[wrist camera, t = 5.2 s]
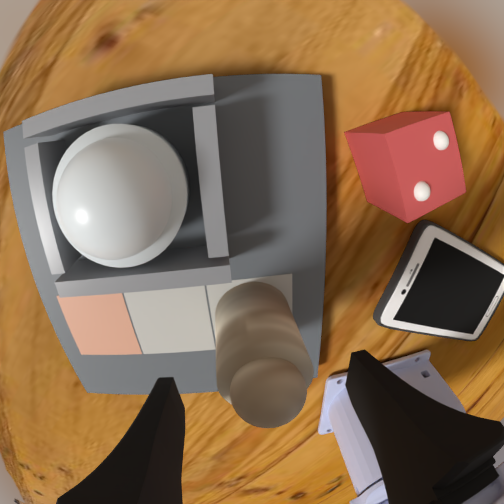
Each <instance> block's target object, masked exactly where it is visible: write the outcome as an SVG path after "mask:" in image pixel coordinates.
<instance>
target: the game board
mask: <svg viewBox="0 0 504 504" xmlns="http://www.w3.org/2000/svg"><path fill="white" fill-rule="evenodd" d="M109 124H129V125H137V126H143V127H146V128H149V129H151V130H154V131H156V132H158V133H159V134H161V135H162V136H164V137H165V138H166V139H167V140H168V141H169V142H171V143H172V145H173V146H174V147H175V148H176V149H177V151H178V152H179V154H180V156H181V157H182V159H183V162H184V164H185V166H186V169H187V173H188V178H189V187H190V193H189V202H188V207H187V210H186V213H185V216H184V218H183V221H182V223H181V226H180V228H179V230H178V232H177V234H176V236H175V237H174V239H173V240H172V242H171V243H170V244H169V246H168V247H167V248H166V249H165V250H164V251H163V252H161V253H160V254H159V255H158V256H156V257H155V258H153V259H152V260H150V261H148V262H146V263H143V264H140V265H137V266H132V267H123V268H118V267H109V266H105V265H102V264H99V263H96V262H94V261H92V260H90V259H88V258H87V257H85V256H84V255H82V254H81V253H80V252H78V251H77V250H76V249H75V248H74V247H73V246H72V245H71V244H70V242H69V241H68V240H67V238H66V237H65V236H64V234H63V232H62V230H61V228H60V226H59V224H58V222H57V219H56V216H55V212H54V207H53V195H52V191H53V182H54V177H55V173H56V170H57V167H58V165H59V162H60V160H61V158H62V157H63V155H64V153H65V152H66V150H67V149H68V148H69V147H70V146H71V144H72V143H73V142H74V141H76V140H77V139H78V138H79V137H80V136H82V135H83V134H85V133H86V132H88V131H90V130H92V129H94V128H97V127H100V126H103V125H109ZM4 144H5V154H6V162H7V170H8V176H9V183H10V188H11V194H12V199H13V204H14V209H15V213H16V218H17V222H18V226H19V230H20V234H21V238H22V241H23V245H24V249H25V252H26V255H27V259H28V262H29V265H30V268H31V271H32V274H33V277H34V280H35V283H36V285H37V288H38V291H39V294H40V296H41V299H42V301H43V304H44V306H45V309H46V311H47V314H48V316H49V318H50V321H51V323H52V325H53V328H54V330H55V332H56V334H57V336H58V338H59V341H60V343H61V345H62V347H63V349H64V351H65V353H66V355H67V357H68V359H69V361H70V363H71V364H72V366H73V368H74V370H75V372H76V374H77V376H78V377H79V379H80V381H81V383H82V384H83V386H84V388H85V389H86V391H87V392H88V393H105V394H150V392H151V390H152V388H153V386H154V384H155V382H156V380H157V379H158V378H159V377H174V380H175V383H176V386H177V388H178V391H179V394H184V393H202V392H215V391H218V388H217V380H216V337H215V311H216V306H217V304H218V302H219V300H220V299H221V297H222V296H223V295H224V294H225V293H226V292H227V291H228V290H230V289H231V288H233V287H235V286H237V285H240V284H243V283H247V282H262V283H266V284H270V285H272V286H274V287H275V288H277V289H278V290H280V291H281V292H282V293H283V295H284V296H285V298H286V300H287V302H288V304H289V307H290V309H291V312H292V314H293V317H294V319H295V322H296V324H297V327H298V329H299V332H300V334H301V337H302V339H303V342H304V344H305V347H306V349H307V352H308V354H309V357H310V359H311V362H312V364H313V368H314V375H313V378H316V377H317V374H318V365H319V355H320V343H321V331H322V318H323V302H324V284H325V260H326V149H325V126H324V108H323V94H322V81H321V75H310V74H252V75H233V76H220V77H213V74H207V75H198V76H190V77H182V78H176V79H169V80H163V81H157V82H152V83H146V84H141V85H137V86H132V87H127V88H123V89H119V90H115V91H111V92H107V93H103V94H99V95H95V96H92V97H88V98H85V99H82V100H78V101H75V102H72V103H69V104H66V105H63V106H60V107H57V108H54V109H51V110H49V111H46V112H43V113H41V114H38V115H36V116H33V117H31V118H28V119H26V120H23V121H22V124H21V125H18V126H16V127H14V128H11V129H9V130H7V131H5V132H4Z"/></svg>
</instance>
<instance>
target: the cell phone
mask: <svg viewBox="0 0 504 504" xmlns="http://www.w3.org/2000/svg"><path fill="white" fill-rule="evenodd" d="M503 296H504V264H503V263H501V262H500V261H498V260H497V259H495V258H494V257H492V256H491V255H489V254H487V253H486V252H484V251H483V250H481V249H479V248H478V247H476V246H474V245H473V244H471V243H469V242H468V241H466V240H464V239H463V238H461V237H459V236H457V235H456V234H454V233H452V232H450V231H449V230H447V229H445V228H443V227H441V226H439V225H438V224H436V223H434V222H431V221H428V220H422V221H420V222H419V223H418V224H417V226H416V227H415V229H414V231H413V233H412V235H411V237H410V239H409V242H408V244H407V246H406V248H405V250H404V252H403V255H402V257H401V259H400V261H399V263H398V265H397V267H396V269H395V271H394V273H393V275H392V277H391V279H390V281H389V283H388V285H387V287H386V289H385V291H384V293H383V295H382V297H381V298H380V300H379V302H378V304H377V306H376V308H375V311H374V313H373V319H374V320H375V321H376V323H377V324H378V325H380V326H382V327H386V328H389V329H394V330H400V331H406V332H412V333H418V334H424V335H430V336H437V337H444V338H451V339H458V340H465V341H476V340H477V339H478V338H479V337H480V336H481V334H482V333H483V331H484V330H485V328H486V327H487V325H488V323H489V321H490V320H491V318H492V316H493V314H494V313H495V311H496V309H497V307H498V305H499V304H500V302H501V300H502V298H503ZM399 328H400V329H399ZM404 329H406V330H404ZM409 330H412V331H409ZM415 331H418V332H415Z"/></svg>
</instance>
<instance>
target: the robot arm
mask: <svg viewBox="0 0 504 504" xmlns="http://www.w3.org/2000/svg"><path fill="white" fill-rule="evenodd" d="M430 355H431V353H430V351H429V350H424V351H421V352H418V353H414V354H411V355H408V356H405V357H402V358H398V359H395V360H392V361H388V362H385V363H381V362H379V361H378V360H377V359H376V358H374V357H373V356H372V355H371V354H370V353H368V352H367V351H366V350H361V351H357V352H352V353H351V358H350V364H349V369H348V372H345V373H341V374H337V375H332V376H330V377H328V378H327V380H326V384H325V391H324V398H323V404H322V410H321V416H320V422H319V427H318V432H319V434H327V433H331V432H334V434H335V437H336V439H337V442H338V445H339V447H340V450H341V453H342V456H343V458H344V461H345V464H346V466H347V469H348V472H349V475H350V477H351V480H352V483H353V486H354V488H355V491H356V494H357V498H355V499H353V500H351V501H350V504H504V462H503V463H501V464H500V465H499V466H498V467H497V468H494V466H493V464H494V463H495V459H494V458H493V456H494V455H495V454H496V452H498V451H499V449H501V447H502V446H503V445H504V426H503V425H502V424H501V422H500V421H494V420H489V419H484V418H480V417H476V416H473V415H470V414H466V412H465V409H464V407H463V405H462V404H461V402H460V401H459V399H458V398H457V397H456V395H455V394H454V393H453V391H452V390H451V389H450V387H449V386H448V385H447V383H446V382H445V381H444V379H443V378H442V377H441V375H440V374H439V373H438V372H437V370H436V369H435V368H434V366H433V365H432V364H431V363H430V361H429V358H430ZM184 438H185V407H184V405H183V402H182V399H181V397H180V394H179V391H178V388H177V386H176V383H175V380H174V377H159V378H158V379H157V380H156V382H155V384H154V386H153V388H152V390H151V392H150V394H149V396H148V398H147V400H146V401H145V403H144V405H143V407H142V408H141V410H140V412H139V414H138V415H137V417H136V419H135V420H134V422H133V423H132V425H131V426H130V428H129V429H128V431H127V432H126V434H125V435H124V437H123V438H122V439H121V441H120V442H119V443H118V445H117V446H116V447H115V448H114V450H113V451H112V452H111V453H110V454H109V455H108V456H107V458H106V459H105V460H104V461H103V462H102V463H101V464H100V465H99V466H98V467H97V468H96V469H95V470H94V471H93V472H92V473H91V474H89V475H88V476H87V477H86V478H85V479H84V480H83V481H81V482H80V483H79V484H78V485H76V486H75V487H74V488H72V489H71V490H69V491H68V492H66V493H65V494H64V495H62V496H60V497H59V498H58V499H57V502H56V504H183V502H182V486H181V473H182V461H183V449H184Z"/></svg>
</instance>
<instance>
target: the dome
mask: <svg viewBox="0 0 504 504" xmlns="http://www.w3.org/2000/svg"><path fill="white" fill-rule="evenodd" d="M189 193H190V187H189V178H188V173H187V169H186V166H185V164H184V162H183V159H182V157H181V156H180V154H179V152H178V151H177V149H176V148H175V147H174V146H173V145H172V143H171V142H169V141H168V140H167V139H166V138H165V137H164V136H162V135H161V134H159V133H158V132H156V131H154V130H151V129H149V128H146V127H143V126H137V125H129V124H109V125H103V126H100V127H97V128H94V129H92V130H90V131H88V132H86V133H85V134H83V135H82V136H80V137H79V138H78V139H77V140H76V141H74V142H73V143H72V144H71V146H70V147H69V148H68V149H67V150H66V152H65V153H64V155H63V157H62V158H61V160H60V162H59V165H58V167H57V170H56V173H55V177H54V182H53V191H52V195H53V207H54V212H55V216H56V219H57V222H58V224H59V226H60V228H61V230H62V232H63V234H64V236H65V237H66V238H67V240H68V241H69V242H70V244H71V245H72V246H73V247H74V248H75V249H76V250H77V251H78V252H80V253H81V254H82V255H84V256H85V257H87V258H88V259H90V260H92V261H94V262H96V263H99V264H102V265H105V266H109V267H118V268H123V267H132V266H137V265H140V264H143V263H146V262H148V261H150V260H152V259H153V258H155V257H156V256H158V255H159V254H160V253H161V252H163V251H164V250H165V249H166V248H167V247H168V246H169V244H170V243H171V242H172V240H173V239H174V237H175V236H176V234H177V232H178V230H179V228H180V226H181V223H182V221H183V218H184V216H185V213H186V210H187V207H188V202H189Z"/></svg>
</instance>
